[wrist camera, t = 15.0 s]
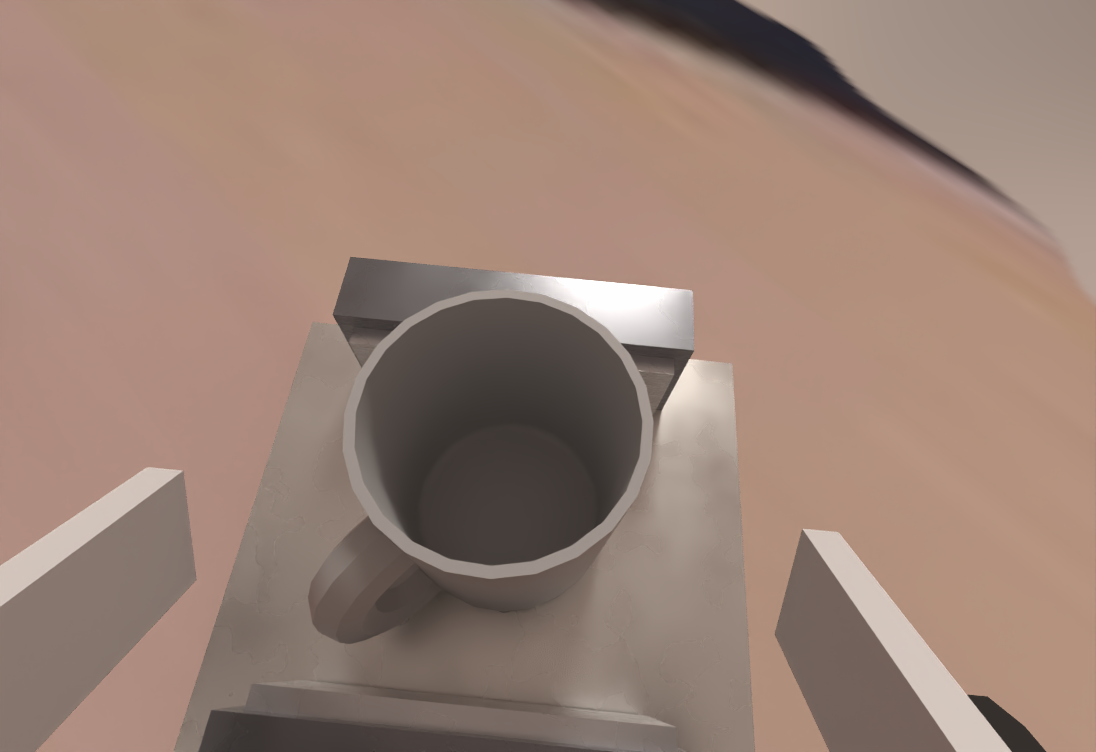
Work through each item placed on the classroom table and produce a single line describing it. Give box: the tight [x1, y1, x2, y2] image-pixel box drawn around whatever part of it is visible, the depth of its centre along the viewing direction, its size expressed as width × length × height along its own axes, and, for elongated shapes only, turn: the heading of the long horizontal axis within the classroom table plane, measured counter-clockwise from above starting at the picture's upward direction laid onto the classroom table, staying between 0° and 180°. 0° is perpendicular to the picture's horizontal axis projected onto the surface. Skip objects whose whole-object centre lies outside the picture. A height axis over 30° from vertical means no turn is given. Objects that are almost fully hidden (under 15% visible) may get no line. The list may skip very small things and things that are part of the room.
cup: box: [308, 289, 654, 644], centre depth 17 cm, size 7×10×9 cm
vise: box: [174, 257, 755, 752], centre depth 18 cm, size 18×22×6 cm
